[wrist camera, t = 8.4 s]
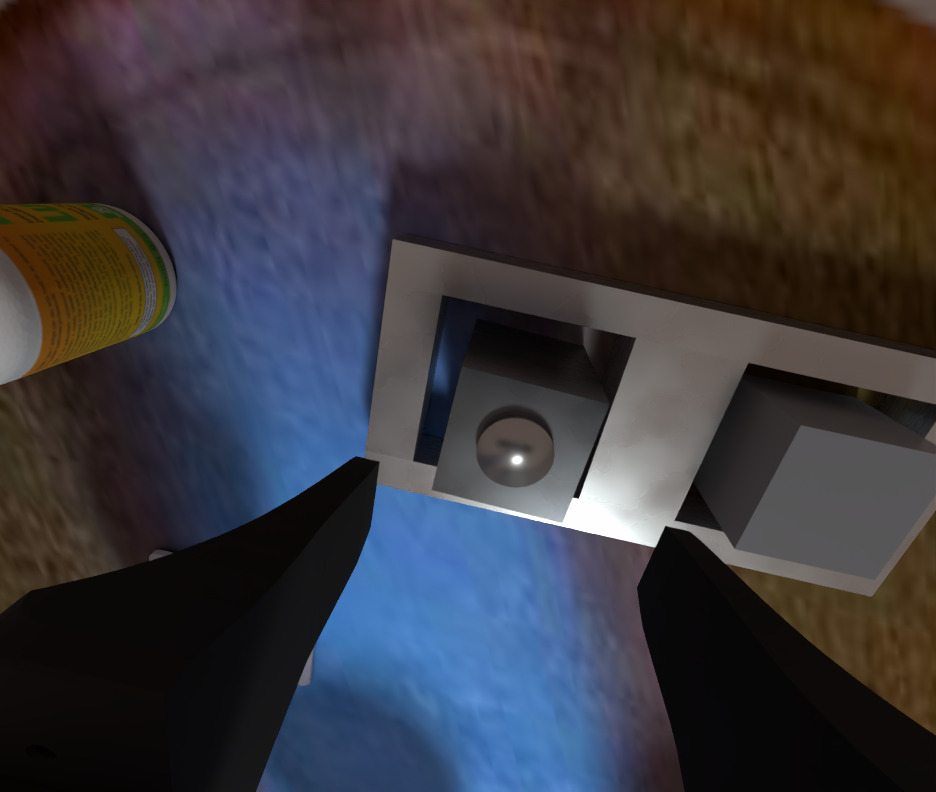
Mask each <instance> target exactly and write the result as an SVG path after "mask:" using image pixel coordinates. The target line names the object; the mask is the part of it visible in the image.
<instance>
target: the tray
mask: <svg viewBox="0 0 936 792" xmlns="http://www.w3.org/2000/svg"><path fill="white" fill-rule="evenodd" d="M449 297H454V298H458V299H463V300H467V301H472V302H476V303H481V304H485V305H490V306H494V307H499V308H504V309H508V310H513V311H517V312H522V313H526V314H531V315H535V316H540V317H544V318H549V319H553V320H558V321H562V322H567V323H571V324H576V325H580V326H585V327H589V328H594V329H598V330H603V331H607V332H612V333H616V334H618V337H617V340H616V342H615V345H614V348H613V351H612V354H611V357H610V360H609V363H608V366H607V369H606V372H605V375H604V378H603V381H602V384H601V386H602V388H603V391H604V393H605V395H606V397H607V400H608V402H609V407H608V410H607V412H606V415H605V417H604V420H603V422H602V425H601V427H600V430H599V432H598V435H597V437H596V440H595V442H594V445H593V448H592V450H591V453H590V455H589V458H588V460H587V463H586V465H585V468H584V470H583V473H582V475H581V478H580V480H579V483H578V486H577V488H576V491H575V493H574V496H573V498H572V501H571V503H570V506H569V508H568V511H567V513H566V516H565V518H564V521H563V524H562V523H558V522H555V521H551V520H547V519H543V518H539V517H535V516H531V515H527V514H523V513H519V512H516V511H512V510H508V509H504V508H500V507H496V506H492V505H488V504H484V503H480V502H476V501H473V500H469V499H465V498H461V497H457V496H453V495H449V494H445V493H441V492H437V491H434V490H432V486H433V482H434V478H435V474H436V469H437V465H438V461H439V457H440V453H441V449H442V445H443V441H444V439H441V438H437V437H432V436H428V435H424V430H425V424H426V419H427V413H428V408H429V402H430V397H431V391H432V386H433V380H434V375H435V369H436V364H437V359H438V353H439V348H440V342H441V337H442V331H443V326H444V320H445V315H446V309H447V304H448V298H449ZM748 363H752V364H756V365H761V366H765V367H770V368H774V369H779V370H783V371H788V372H792V373H797V374H801V375H806V376H810V377H815V378H819V379H824V380H828V381H833V382H838V383H842V384H847V385H851V386H856V387H860V388H865V389H869V390H874V391H878V392H883V393H887V394H888V395H887V397H886V398H885V400H884V402H883V403H882V405H881V407H880V408H879V410H878V411H879V412H881V413H883V414H884V415H886V416H888V417H889V418H891V419H893V420H895V421H896V422H898V423H900V424H901V425H903V426H905V427H906V428H908V429H910V430H911V431H913V432H915V433H917V434H918V435H920V436H922V437H923V438H925V439H927V440H928V441H930V442H932V443H933V444H935V445H936V350H933V349H928V348H924V347H919V346H914V345H910V344H905V343H901V342H896V341H892V340H887V339H883V338H878V337H874V336H869V335H864V334H860V333H855V332H851V331H846V330H842V329H837V328H833V327H828V326H824V325H819V324H814V323H810V322H805V321H801V320H796V319H792V318H787V317H783V316H778V315H774V314H769V313H764V312H760V311H755V310H751V309H746V308H742V307H737V306H733V305H728V304H724V303H719V302H714V301H710V300H705V299H701V298H696V297H692V296H687V295H683V294H678V293H673V292H669V291H664V290H660V289H655V288H651V287H646V286H642V285H637V284H633V283H628V282H623V281H619V280H614V279H610V278H605V277H601V276H596V275H592V274H587V273H583V272H578V271H573V270H569V269H564V268H560V267H555V266H551V265H546V264H542V263H537V262H533V261H528V260H523V259H519V258H514V257H510V256H505V255H501V254H496V253H492V252H487V251H483V250H478V249H473V248H469V247H464V246H460V245H455V244H451V243H446V242H442V241H437V240H433V239H428V238H423V237H419V236H414V235H410V234H407V235H404V236H401V237H398V238H395V239H393V241H392V249H391V257H390V265H389V272H388V280H387V288H386V296H385V304H384V311H383V319H382V327H381V335H380V343H379V350H378V358H377V366H376V374H375V382H374V389H373V397H372V405H371V413H370V421H369V429H368V436H367V444H366V452H365V458H366V459H370V460H375V461H379V462H380V464H379V471H378V478H377V484H379V485H384V486H388V487H392V488H397V489H401V490H405V491H410V492H414V493H419V494H423V495H427V496H432V497H436V498H441V499H445V500H449V501H454V502H458V503H463V504H467V505H471V506H476V507H480V508H485V509H489V510H493V511H498V512H502V513H506V514H511V515H515V516H520V517H524V518H528V519H533V520H537V521H542V522H546V523H550V524H555V525H559V526H564V527H568V528H572V529H577V530H581V531H586V532H590V533H594V534H599V535H603V536H607V537H612V538H616V539H621V540H625V541H629V542H634V543H638V544H643V545H647V546H651V547H656V545H657V543H658V541H659V538H660V536H661V534H662V532H663V530H664V528H665V526H668V527H673V528H677V529H682V530H686V531H690V532H691V533H692V534H694V535H695V536H696V537H697V538H698V539H700V540H701V541H702V542H703V543H704V544H705V545H706V546H707V547H708V548H709V549H710V550H711V551H712V552H714V553H715V554H716V555H717V556H718V557H719V558H720V559H721V560H722V561H723V562H724V563H726V564H730V565H735V566H739V567H744V568H748V569H752V570H757V571H761V572H766V573H770V574H774V575H779V576H783V577H788V578H792V579H796V580H801V581H805V582H809V583H814V584H818V585H823V586H827V587H831V588H836V589H840V590H845V591H849V592H853V593H858V594H862V595H867V596H871V597H872V596H873V594H874V593H875V592H876V590H877V589H878V588H879V586H880V585H881V583H882V582H883V581H884V579H885V578H886V577H887V575H888V574H889V573H890V571H891V570H892V569H893V567H894V566H895V565H896V563H897V562H898V561H899V559H900V558H901V556H902V555H903V554H904V552H905V551H906V550H907V548H908V547H909V546H910V544H911V543H912V542H913V540H914V539H915V538H916V536H917V535H918V533H919V532H920V531H921V529H922V528H923V527H924V525H925V524H926V523H927V521H928V520H929V519H930V517H931V516H932V515H933V513H934V512H935V510H936V495H935V497H934V498H933V500H932V501H931V502H930V504H929V505H928V507H927V508H926V509H925V511H924V512H923V514H922V515H921V516H920V518H919V519H918V521H917V522H916V523H915V525H914V526H913V528H912V529H911V530H910V532H909V533H908V534H907V536H906V537H905V539H904V540H903V541H902V543H901V544H900V546H899V547H898V548H897V550H896V551H895V553H894V554H893V555H892V557H891V558H890V560H889V561H888V562H887V564H886V565H885V567H884V568H883V569H882V571H881V572H880V574H879V575H878V576H877V578H876V579H875V580H872V579H868V578H863V577H859V576H854V575H850V574H845V573H841V572H836V571H831V570H827V569H822V568H818V567H813V566H809V565H804V564H800V563H795V562H791V561H786V560H782V559H777V558H772V557H768V556H763V555H759V554H754V553H750V552H745V551H741V550H736V549H734V548H733V546H732V544H731V543H730V541H729V539H728V538H727V536H726V535H725V533H724V531H723V530H722V528H721V526H720V525H719V523H718V522H717V520H716V518H715V517H714V515H713V513H712V512H711V510H710V509H709V507H708V505H707V504H706V502H705V500H704V499H703V498H702V497H698V496H694V495H689V494H687V493H688V491H689V488H690V486H691V484H692V482H693V480H694V478H695V476H696V473H697V471H698V469H699V467H700V465H701V463H702V461H703V458H704V456H705V454H706V452H707V450H708V448H709V446H710V444H711V441H712V439H713V437H714V435H715V433H716V431H717V429H718V426H719V424H720V422H721V420H722V418H723V416H724V414H725V411H726V409H727V407H728V405H729V403H730V401H731V399H732V397H733V394H734V392H735V390H736V388H737V386H738V384H739V382H740V379H741V377H742V375H743V373H744V371H745V369H746V367H747V364H748Z"/></svg>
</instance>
